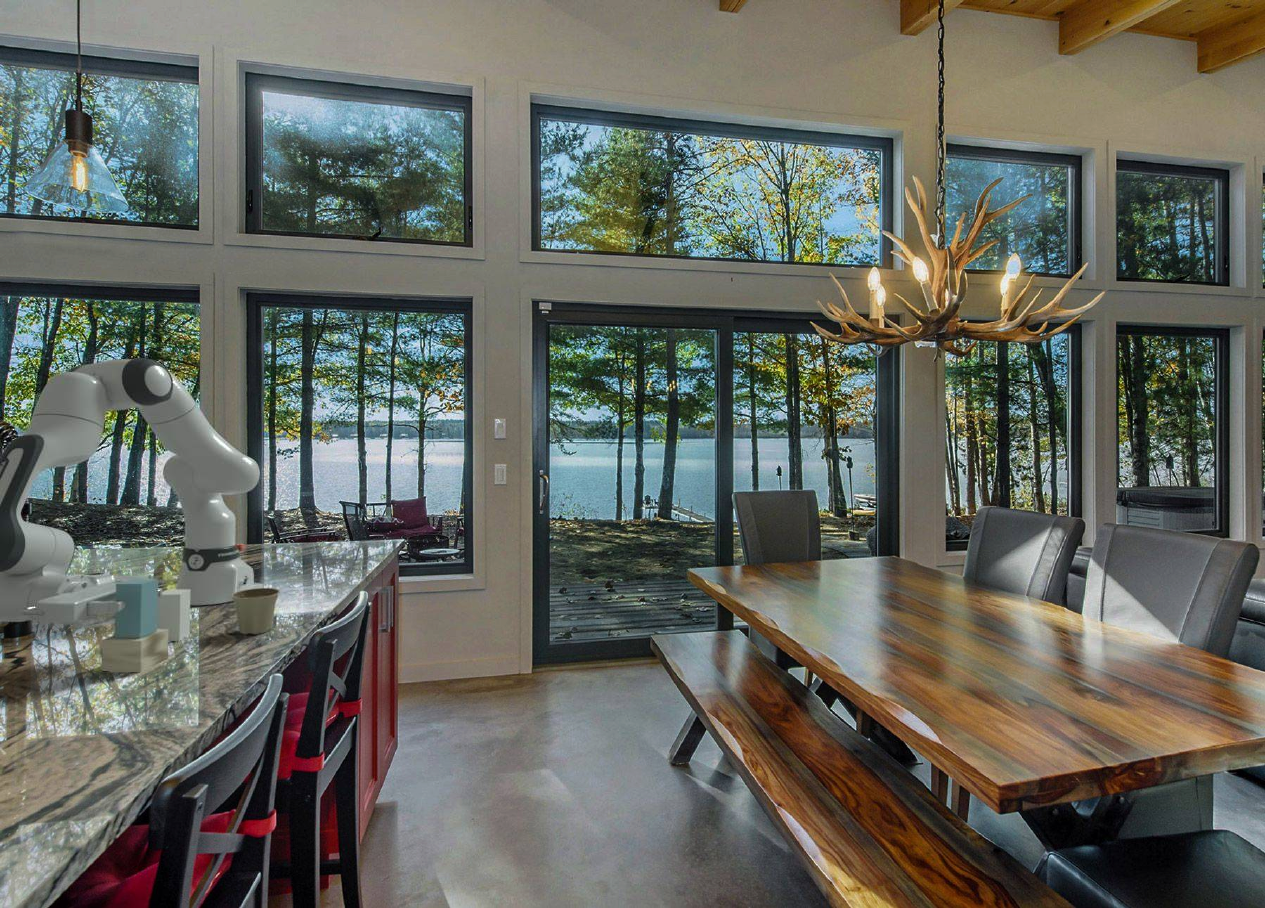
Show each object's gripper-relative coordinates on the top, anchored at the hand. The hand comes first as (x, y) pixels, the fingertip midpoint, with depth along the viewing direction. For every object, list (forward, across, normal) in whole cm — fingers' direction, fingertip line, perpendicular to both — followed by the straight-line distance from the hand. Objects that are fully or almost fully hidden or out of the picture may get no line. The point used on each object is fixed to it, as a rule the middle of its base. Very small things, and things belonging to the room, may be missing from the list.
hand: (141, 599), depth 117 cm
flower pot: (+9, +22, +13) cm, 27 cm away
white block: (-5, +16, +12) cm, 21 cm away
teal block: (-1, 0, +7) cm, 7 cm away
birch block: (-1, 0, +13) cm, 13 cm away
